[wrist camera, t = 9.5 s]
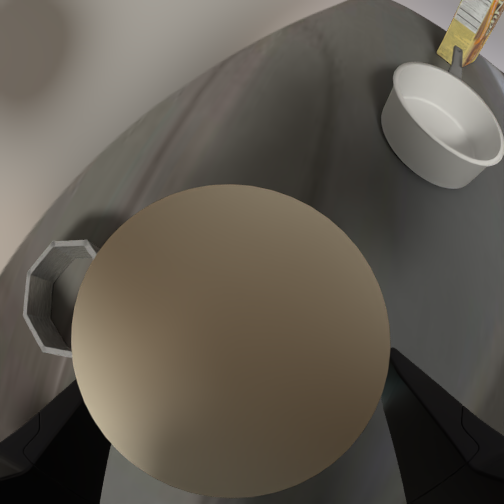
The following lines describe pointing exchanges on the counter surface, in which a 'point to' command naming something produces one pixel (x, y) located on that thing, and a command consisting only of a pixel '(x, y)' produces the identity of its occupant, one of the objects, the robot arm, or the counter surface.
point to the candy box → (470, 28)
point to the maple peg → (230, 341)
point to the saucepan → (440, 124)
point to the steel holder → (42, 287)
